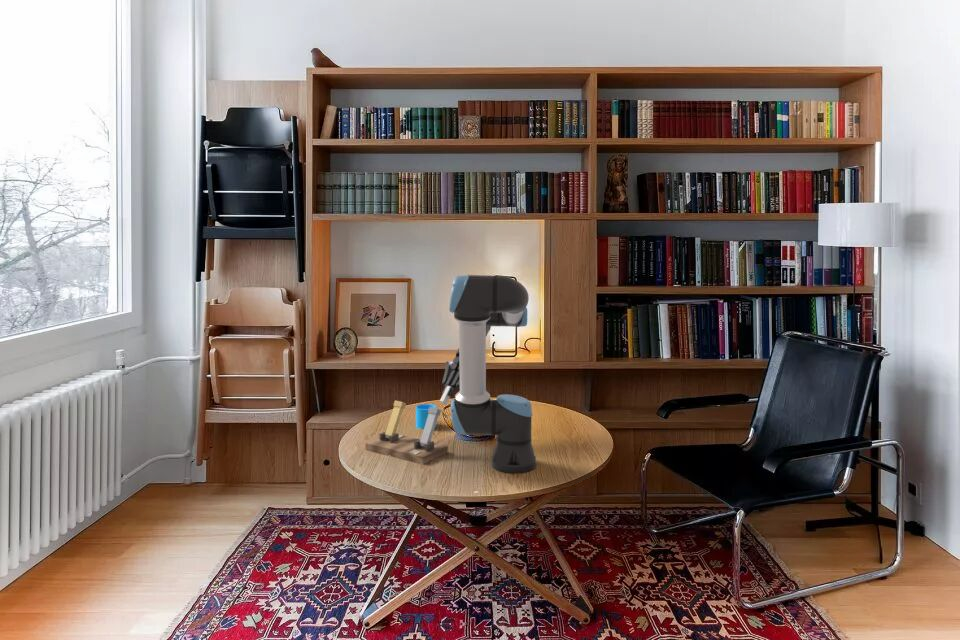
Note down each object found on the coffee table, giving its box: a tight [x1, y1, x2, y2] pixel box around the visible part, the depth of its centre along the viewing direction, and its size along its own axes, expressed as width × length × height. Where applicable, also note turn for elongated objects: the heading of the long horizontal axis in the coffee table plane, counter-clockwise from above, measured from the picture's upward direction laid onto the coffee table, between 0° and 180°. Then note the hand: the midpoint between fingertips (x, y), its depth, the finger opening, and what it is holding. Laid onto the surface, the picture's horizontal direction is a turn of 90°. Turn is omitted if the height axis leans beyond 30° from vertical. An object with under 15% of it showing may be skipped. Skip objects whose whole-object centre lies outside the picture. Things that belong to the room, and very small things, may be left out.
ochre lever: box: [385, 400, 407, 439], centre depth 237 cm, size 4×2×14 cm, turn 57°
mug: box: [415, 403, 437, 430], centre depth 262 cm, size 12×8×8 cm
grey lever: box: [420, 407, 442, 447], centre depth 229 cm, size 4×2×14 cm, turn 57°
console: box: [365, 431, 449, 465], centre depth 231 cm, size 26×14×5 cm, turn 57°
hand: (443, 403), depth 235 cm, fingers closed
